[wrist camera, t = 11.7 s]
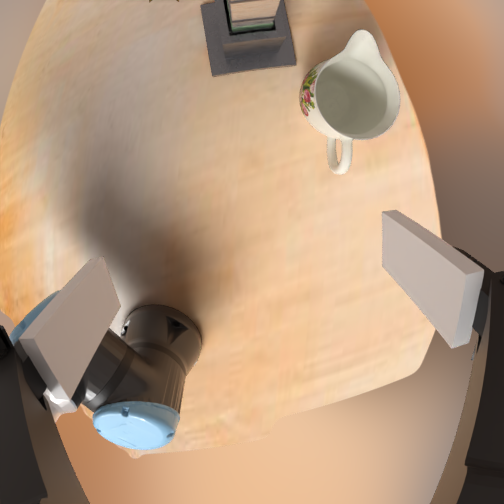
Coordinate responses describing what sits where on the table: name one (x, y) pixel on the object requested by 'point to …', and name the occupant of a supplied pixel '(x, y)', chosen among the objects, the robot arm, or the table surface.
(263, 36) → the stand
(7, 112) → the table surface
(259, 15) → the column
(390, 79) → the pitcher
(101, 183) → the table surface
